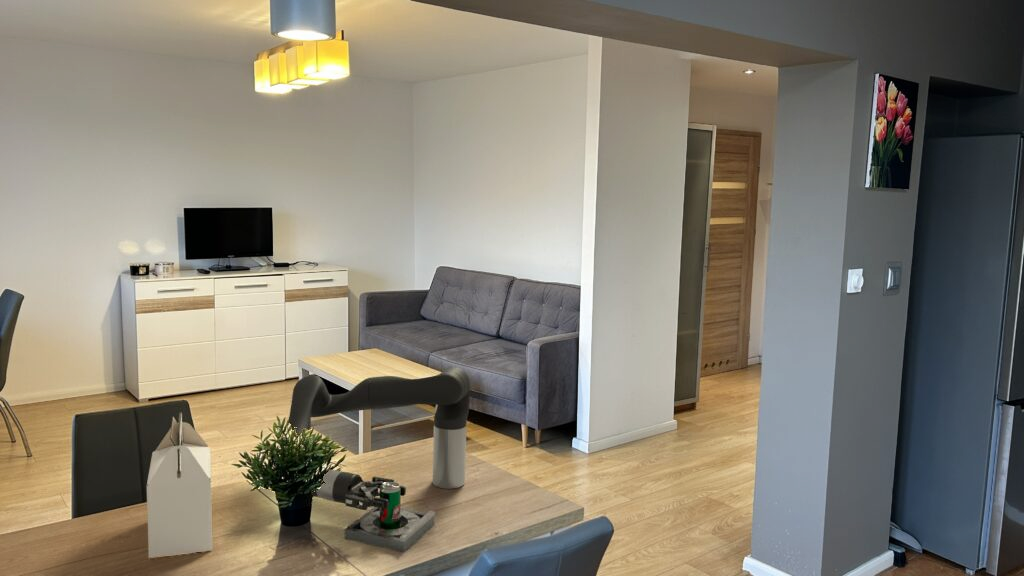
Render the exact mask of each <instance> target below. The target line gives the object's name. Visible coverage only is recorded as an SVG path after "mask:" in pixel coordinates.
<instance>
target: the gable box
mask: <svg viewBox="0 0 1024 576" xmlns="http://www.w3.org/2000/svg"><path fill="white" fill-rule="evenodd" d="M171 419H172V420H171V426H170V428H169V430H168V431H167V433H166V434H165V436H164V437H163V439H161V441H160V442H159V444H158V446H157V447H156V449H155V450H154V451H152V454H151V459H150V465H149V471H148V475H147V476H148V477H147V481H146V482H147V483H146V509H147V511H146V512H147V513H146V514H147V515H146V516H147V543H148V545H147V546H148V551H147V552H148V558H149V557H154V556H162V555H171V554H181V553H192V552H200V551H207V550H212V551H213V531H212V530H213V526H212V525H213V523H212V477H211V476H212V475H211V474H212V466H211V465H212V463H211V462H212V461H211V447H210V446H209V445H208V444H207V443H206V442H205V440H204V439H203V438H202V437H201V435H200V434H199V433H198V432H197V430H195V429H194V427H193V426H192V425H191V424H190V423H189V422H187V421H183V413H182V412H179V415H178V422H177V420H176V419H175V417H174V416H172V418H171Z"/></svg>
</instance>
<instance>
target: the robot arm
mask: <svg viewBox="0 0 1024 576" xmlns="http://www.w3.org/2000/svg"><path fill="white" fill-rule="evenodd" d="M470 381H471V380H470V378H469V376H468V374H467V373H466V371H464V370H463V369H462V368H460V367H456V366H455V367H453V366H452V367H448V368H445V370H443V371H441V372H440V373H438V374H437V375H433V376H428V377H422V378H407V377H402V376H397V375H396V376H395V375H383V376H381V375H380V376H373V377H372V376H371V377H367V378H365V379H364V380H362V381H360V382H359V383H358V384H356V385H355V386H354V387H353V388H352V389H350V390H349V391H347V392H345V393H340V394H331V393H329V391H328V388H327V386H326V384H325V382H324V381H323V379H322V378H321V377H319V376H318V375H314V374H312V375H306V376H304V377H302V378H300V379H299V380H298V381H297V382H296V383H295V385H294V387H293V390H292V397H291V403H290V404H291V405H290V409H289V410H290V411H289V415H288V421H287V424H288V423H290V424H291V426H292V430H294V429H296V433H297V435H300V434H301V433H302V429H303V428H306V429H308V430H309V429H311V430H312V426H311V425H312V424H311V423H312V418H320V417H326V416H331V415H332V416H333V415H337V414H343V413H348V412H349V413H350V412H356V411H357V412H358V411H366V410H368V411H370V410H383V409H384V410H386V409H393V408H400V407H401V408H403V407H409V406H410V407H411V406H416V405H417V406H418V405H431V406H432V405H436V406H437V407H436V411H435V413H434V416H433V442H432V443H433V444H432V445H433V447H432V448H433V451H432V485H433V486H435V487H436V488H440V489H445V490H446V489H448V490H450V489H452V490H453V489H458V488H462V486H464V485H465V481H466V479H465V477H466V454H467V453H466V452H467V448H466V447H467V422H468V416H469V412H470V410H469V409H470V399H471V398H470V397H471V396H470V395H471V382H470ZM294 427H297V428H294ZM323 469H324V470H325V469H326V468H323ZM328 470H329V471H328V472H327V473H326V474H324V476H323V481H324V482H325V483H327V484H325V483H323V484H322V485H321V488H320V489H318V490H316V491H315V492H314V493H313V496H312V497H315V498H320V499H323V500H326V501H328V502H329V501H330V502H334V503H340V504H343V505H345V507H349V508H353V509H358V510H363V511H366V510H368V508H370V509H372V508H374V507H378V508H383V509H387V508H388V507H389V500H388V499H383V498H380V488H381V485H382V484H383V483H386V482H395V480H394V479H391V478H385V477H380V476H379V477H377V476H373V477H372V478H371V480H369V481H365V480H363V478H362V476H361V475H360V474H358V473H353V472H349V471H348V472H346V471H342V470H337V469H328ZM324 484H325V485H324ZM399 487H400V488H401V497H404V496H405V495H406V494H407V488H406V486H404V485H399Z"/></svg>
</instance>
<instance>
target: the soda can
mask: <svg viewBox="0 0 1024 576" xmlns="http://www.w3.org/2000/svg"><path fill="white" fill-rule="evenodd" d="M399 486H400V484H399V483H398V482H396V481H394V482H386V483H383V484H382V485H381V488H380V489H379V491H380V496H379V498H383V499H388V500H389V507H388V508H387V509H383V508H380V521H379V526H378V528H380V529H385V530H393V529H399V528H401V525H400V509H402V507H401V501H402V499H401V497H402V496H401V488H400V487H399Z"/></svg>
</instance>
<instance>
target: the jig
mask: <svg viewBox="0 0 1024 576" xmlns="http://www.w3.org/2000/svg"><path fill="white" fill-rule="evenodd" d="M379 521H380V508H378V507H374V506H373V507H372V508H370V509H369V510H368V511H367V512H366V513H364V514H363V515H361V516H360V517H359V518H357V519H355V521H353V522H352V523H351V524H349V525H347V526H346V527H345V528H344V540H348V541H352V542H353V541H354V542H357V543H360V544H361V543H362V544H367V545H371V546H375V547H379V548H385V549H389V550H393V551H398V552H401V553H402V552H403V553H405V552H406V551H407V550H408V549H409V548H411V547H412V546H413V545H414V544H415V543H416V541H418V540H419V539H420V538H422V536H423V535H425V534H426V533H427V532H428V531H429V530H430V529H431V528H432V527H434V525H435V511H434V510H429V511H428V512H426V513H425V512H421V511H415V510H410V509H405V508H401V509H400V526H403V527H400V528H399V529H393V530H385V529H380V528H379Z"/></svg>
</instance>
